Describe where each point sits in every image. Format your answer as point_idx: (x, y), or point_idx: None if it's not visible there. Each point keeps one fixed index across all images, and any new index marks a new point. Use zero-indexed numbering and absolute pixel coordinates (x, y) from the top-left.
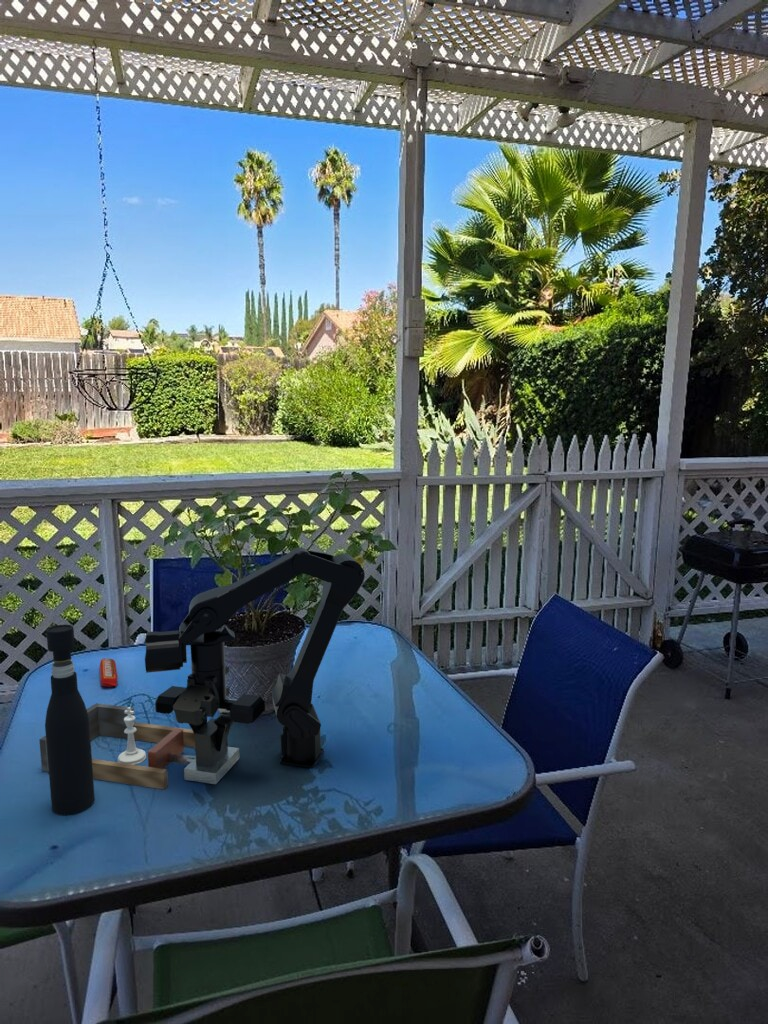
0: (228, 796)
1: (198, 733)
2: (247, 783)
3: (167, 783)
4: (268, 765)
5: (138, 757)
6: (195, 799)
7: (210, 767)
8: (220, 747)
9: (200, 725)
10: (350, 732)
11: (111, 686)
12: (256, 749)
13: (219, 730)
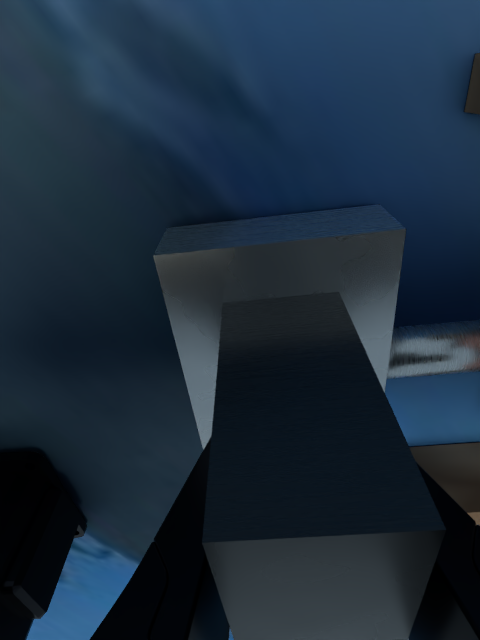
0: (19, 153)
1: (389, 539)
2: (38, 300)
3: (475, 107)
4: (75, 432)
5: None
6: (184, 26)
7: (232, 303)
8: (207, 446)
9: (444, 629)
10: None
11: None
12: None
13: (158, 620)
